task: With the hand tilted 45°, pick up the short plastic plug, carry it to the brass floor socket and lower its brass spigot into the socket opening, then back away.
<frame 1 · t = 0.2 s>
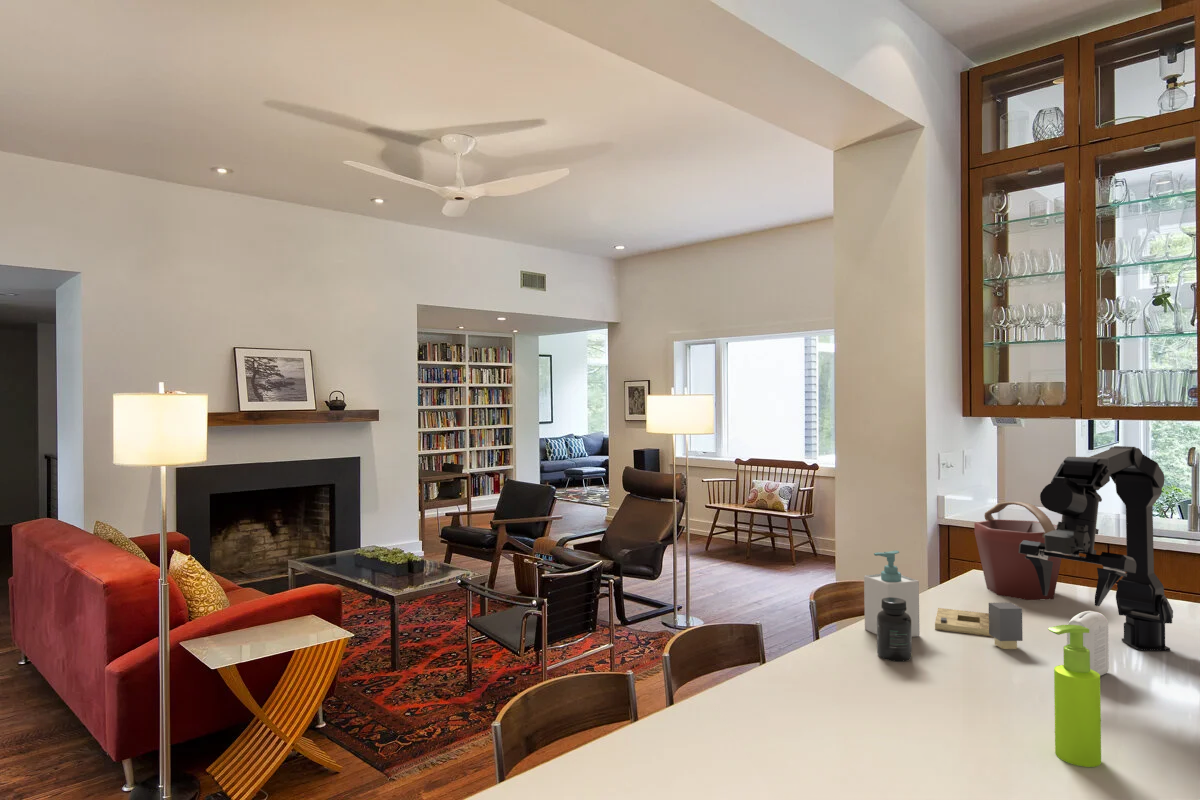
hand: (1070, 600, 141), 15 cm above the kitchen island, tool pointing down, fingers open, 9 cm apart
photo printer: (1088, 675, 144), on the kitchen island
supplement bottle: (894, 657, 155), on the kitchen island
soap bottle: (891, 633, 171), on the kitchen island
soap dispenser: (1074, 759, 111), on the kitchen island
bucket: (1023, 592, 205), on the kitchen island
plug: (1005, 646, 161), on the kitchen island
socket: (968, 625, 176), on the kitchen island
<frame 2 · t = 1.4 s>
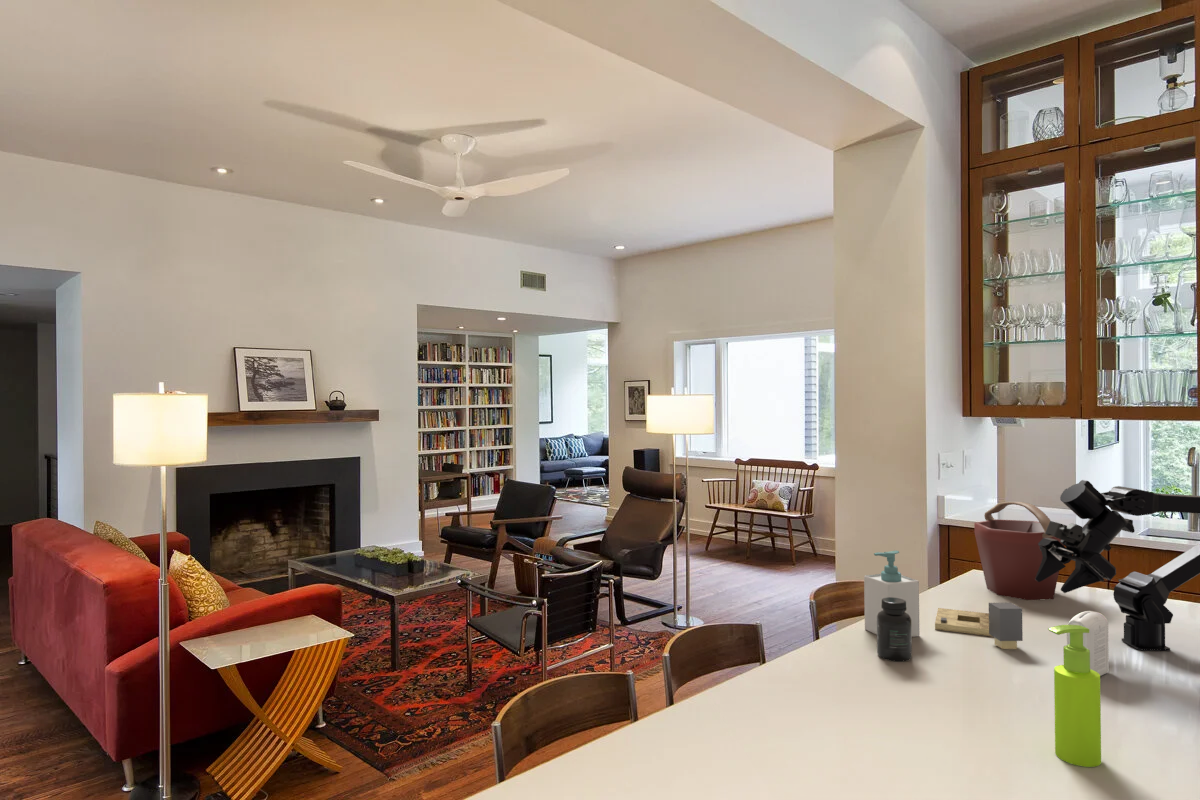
hand: (1049, 585, 160), 13 cm above the kitchen island, tool tilted 45°, fingers open, 9 cm apart
nothing on the kitchen island moved.
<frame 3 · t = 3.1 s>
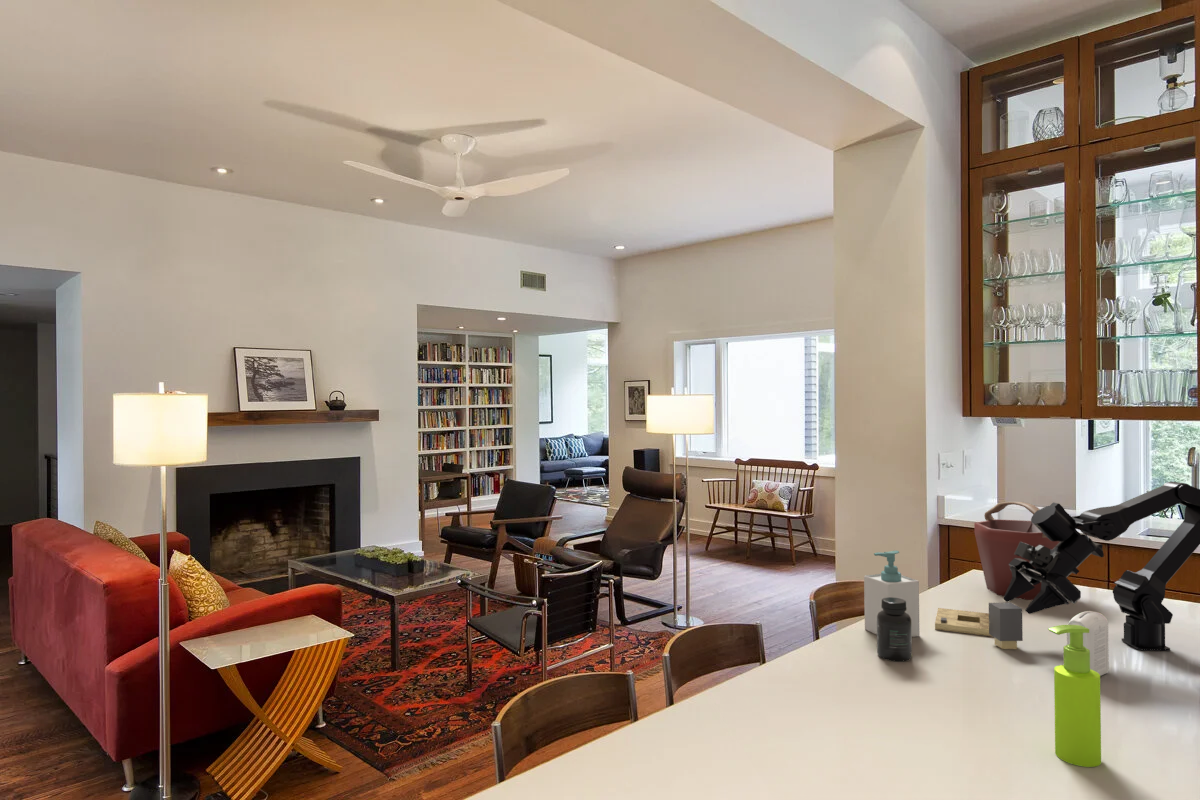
hand: (1015, 606, 161), 9 cm above the kitchen island, tool tilted 45°, fingers open, 9 cm apart
nothing on the kitchen island moved.
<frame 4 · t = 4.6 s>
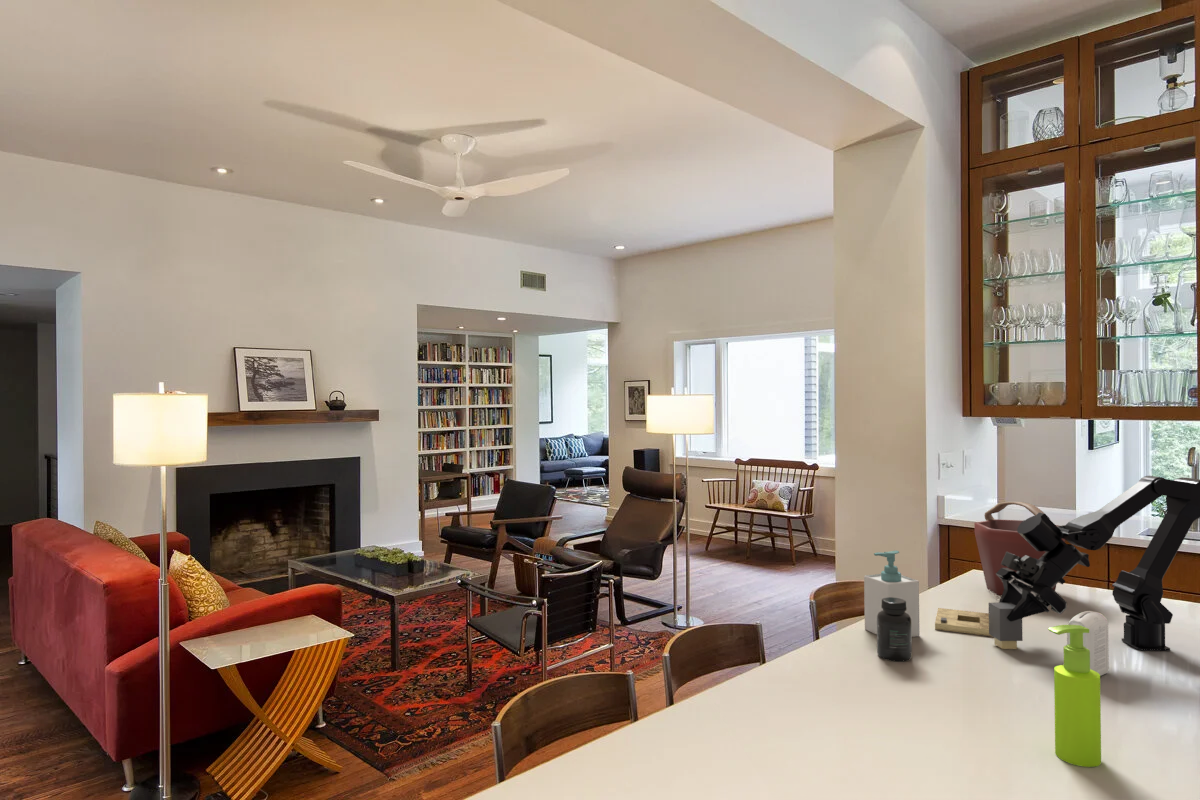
hand: (1002, 616, 161), 7 cm above the kitchen island, tool tilted 45°, fingers closed on plug, 5 cm apart
plug: (1005, 646, 161), on the kitchen island, touching gripper
everything else where it was.
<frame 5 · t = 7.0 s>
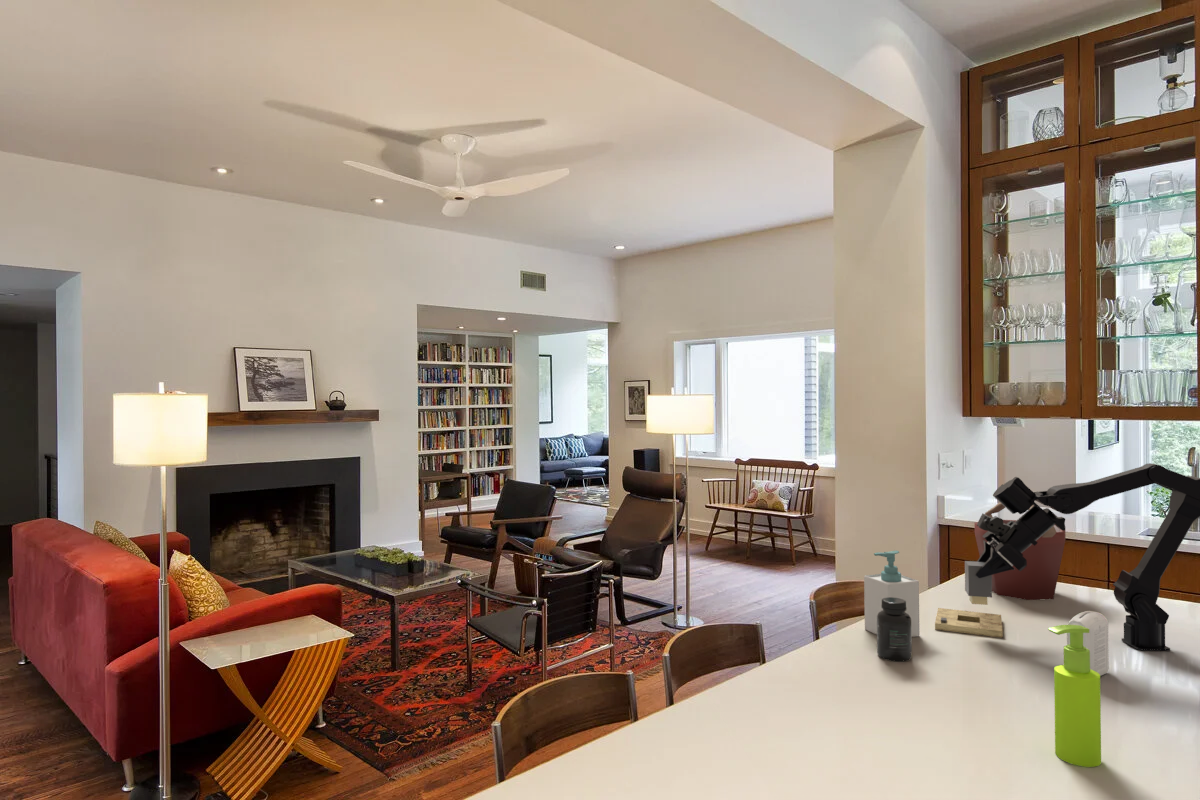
hand: (975, 573, 170), 14 cm above the kitchen island, tool tilted 45°, fingers closed on plug, 5 cm apart
plug: (978, 602, 170), point 7 cm above the kitchen island, touching gripper
everything else where it was.
when the fingers open (7 cm above the kitchen island, at t = 9.5 s): plug stays where it is, resting on socket.
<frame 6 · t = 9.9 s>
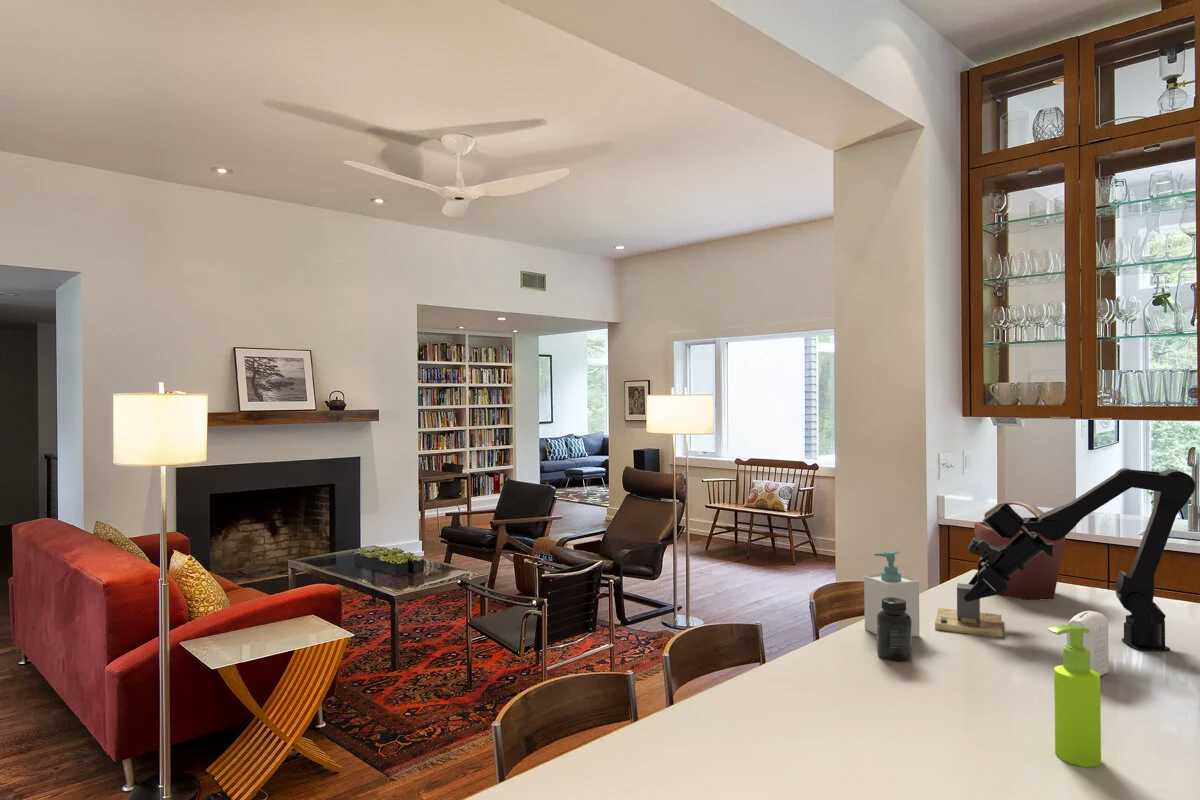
hand: (965, 595, 176), 7 cm above the kitchen island, tool tilted 45°, fingers open, 9 cm apart
plug: (968, 623, 176), resting on socket
everything else where it was.
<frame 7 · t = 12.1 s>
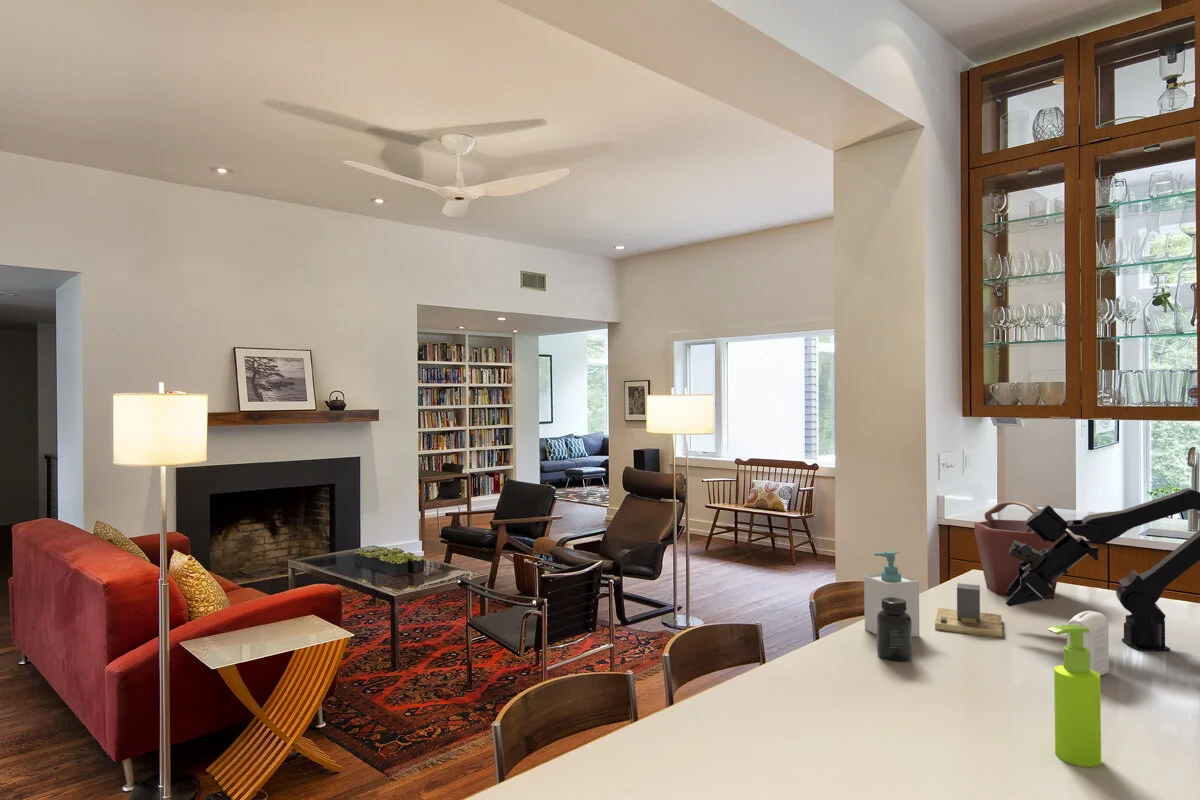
hand: (1006, 600, 172), 7 cm above the kitchen island, tool tilted 45°, fingers open, 9 cm apart
nothing on the kitchen island moved.
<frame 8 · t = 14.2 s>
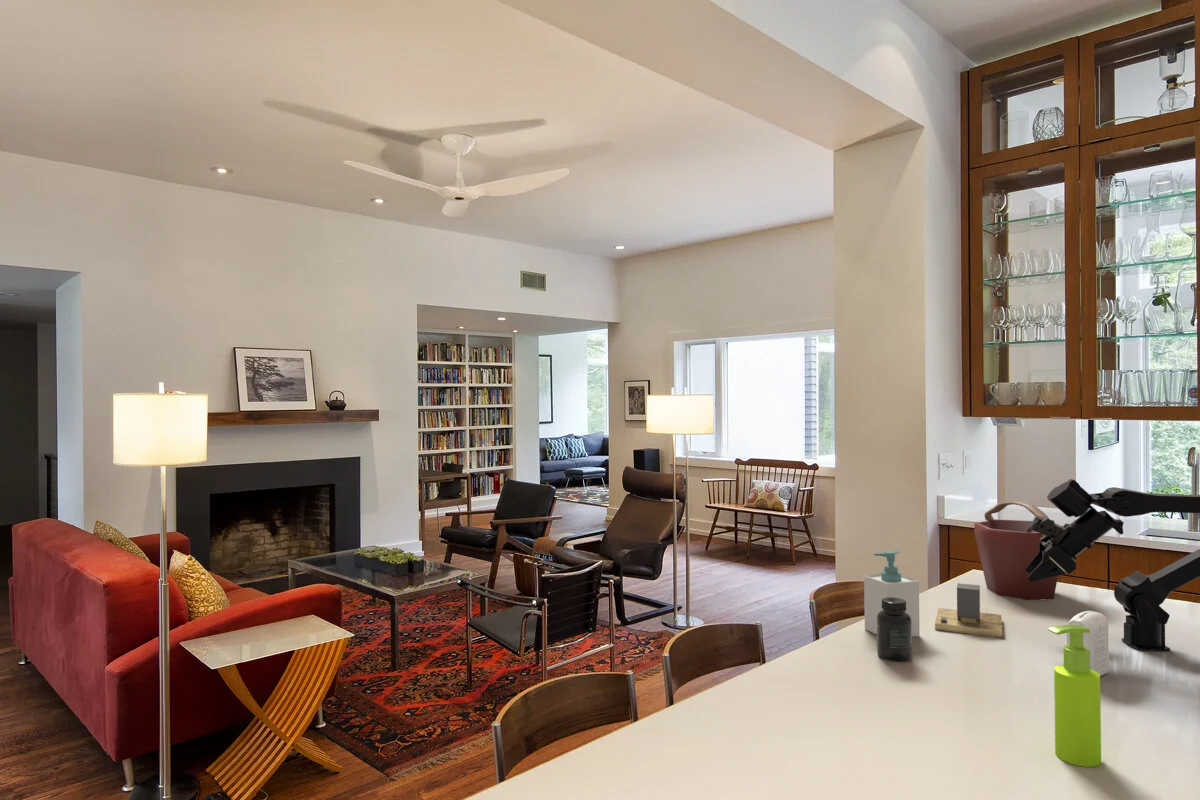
hand: (1027, 575, 168), 14 cm above the kitchen island, tool tilted 45°, fingers open, 9 cm apart
nothing on the kitchen island moved.
at the end: plug 0.0 cm off-centre on the socket, point 0.3 cm above the socket's base; plug tilted 0°; the gripper is holding nothing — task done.
